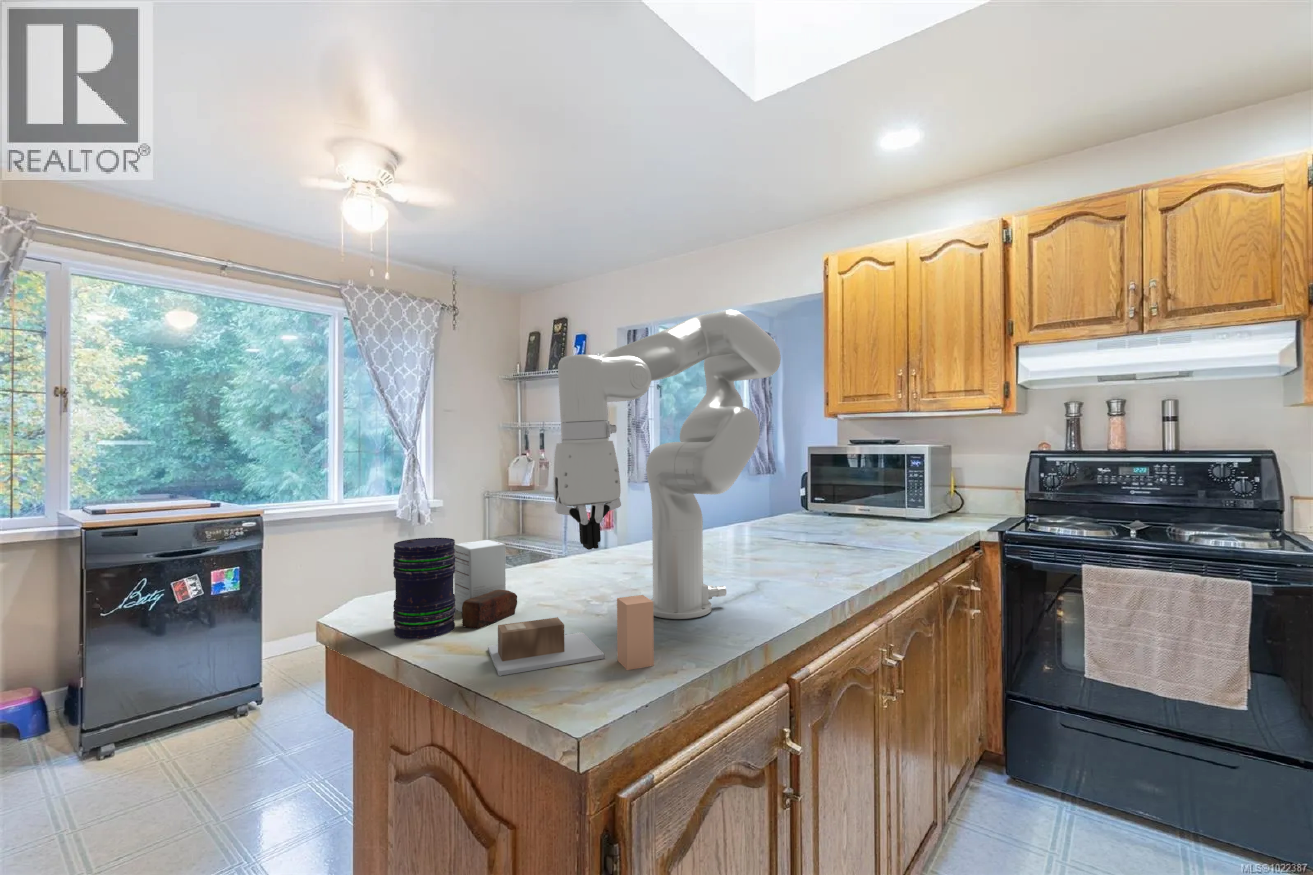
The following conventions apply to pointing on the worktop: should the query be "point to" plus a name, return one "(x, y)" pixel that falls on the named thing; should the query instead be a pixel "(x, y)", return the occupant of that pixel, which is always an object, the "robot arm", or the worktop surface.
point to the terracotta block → (635, 632)
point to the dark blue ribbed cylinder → (424, 588)
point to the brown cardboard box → (530, 638)
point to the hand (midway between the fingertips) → (590, 547)
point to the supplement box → (478, 569)
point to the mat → (550, 656)
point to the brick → (488, 608)
